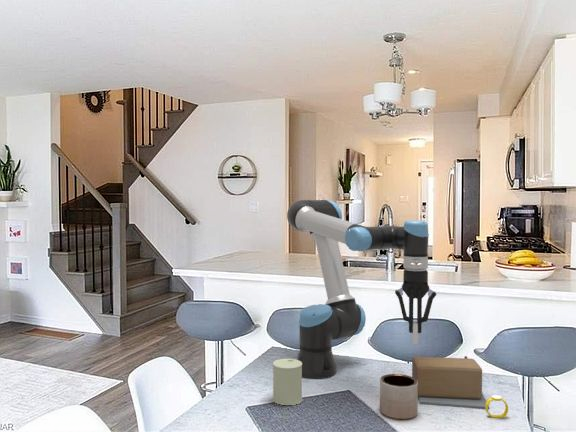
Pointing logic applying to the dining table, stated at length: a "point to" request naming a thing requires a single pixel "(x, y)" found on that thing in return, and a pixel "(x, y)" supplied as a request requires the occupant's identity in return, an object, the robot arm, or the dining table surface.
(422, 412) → the dining table surface
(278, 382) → the can
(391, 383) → the planter
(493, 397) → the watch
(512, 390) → the dining table surface
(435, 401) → the mat
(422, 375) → the wooden block
